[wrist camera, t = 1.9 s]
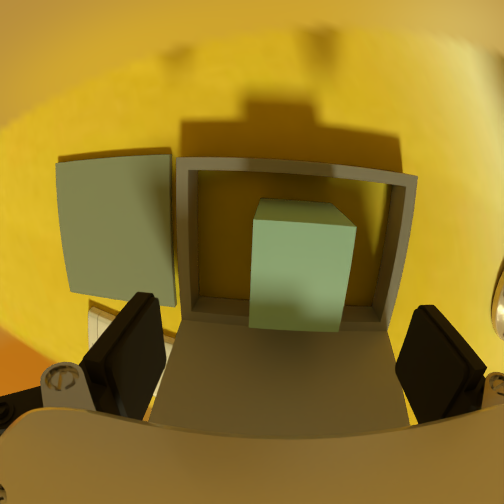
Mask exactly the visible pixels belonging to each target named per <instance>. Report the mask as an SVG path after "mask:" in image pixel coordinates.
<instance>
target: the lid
mask: <svg viewBox="0 0 504 504" xmlns="http://www.w3.org/2000/svg"><path fill="white" fill-rule="evenodd" d="M395 365H396V361H395V358H394V354H393V350H392V346H391V343H390V339H389V336H388V332H387V331H338V332H315V331H292V330H275V329H260V328H249V326H240V325H229V324H219V323H209V322H199V321H191V320H181V323H180V326H179V329H178V332H177V335H176V338H175V341H174V343H173V346H172V349H171V352H170V355H169V358H168V361H167V364H166V367H165V370H164V373H163V376H162V379H161V383H160V386H159V389H158V392H157V395H156V398H155V401H154V405H153V408H152V411H151V414H150V418H149V421H148V422H152V423H157V424H163V425H169V426H175V427H182V428H188V429H195V430H203V431H211V432H221V433H232V434H245V435H265V436H318V435H337V434H351V433H361V432H370V431H379V430H386V429H393V428H400V427H406V426H410V423H409V418H408V413H407V408H406V404H405V399H404V394H403V390H402V386H401V384H400V382H399V380H398V378H397V375H396V373H395Z"/></svg>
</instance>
